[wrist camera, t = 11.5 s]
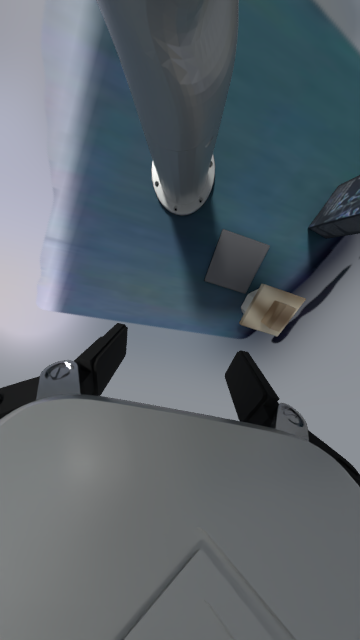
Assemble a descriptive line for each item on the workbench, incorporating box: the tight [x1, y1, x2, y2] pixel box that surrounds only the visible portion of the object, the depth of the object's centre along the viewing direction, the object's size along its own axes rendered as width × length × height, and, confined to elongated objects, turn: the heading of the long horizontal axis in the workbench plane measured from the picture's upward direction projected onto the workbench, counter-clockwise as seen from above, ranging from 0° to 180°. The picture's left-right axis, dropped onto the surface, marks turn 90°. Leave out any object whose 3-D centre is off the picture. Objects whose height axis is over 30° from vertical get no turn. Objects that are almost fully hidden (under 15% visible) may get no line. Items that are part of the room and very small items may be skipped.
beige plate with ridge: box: [239, 284, 306, 336], centre depth 30 cm, size 11×11×5 cm
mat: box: [204, 229, 270, 293], centre depth 32 cm, size 12×12×1 cm
